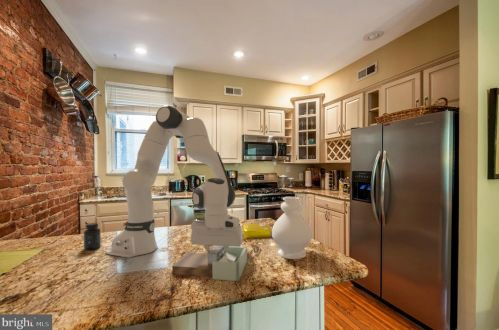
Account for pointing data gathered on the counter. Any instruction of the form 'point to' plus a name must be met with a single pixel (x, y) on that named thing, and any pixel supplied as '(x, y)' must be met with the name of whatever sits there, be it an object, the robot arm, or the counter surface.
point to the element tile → (256, 230)
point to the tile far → (230, 257)
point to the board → (193, 265)
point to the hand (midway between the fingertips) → (216, 256)
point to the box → (230, 265)
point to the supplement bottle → (92, 237)
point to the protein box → (199, 214)
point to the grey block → (215, 254)
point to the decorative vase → (291, 230)
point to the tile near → (223, 259)
